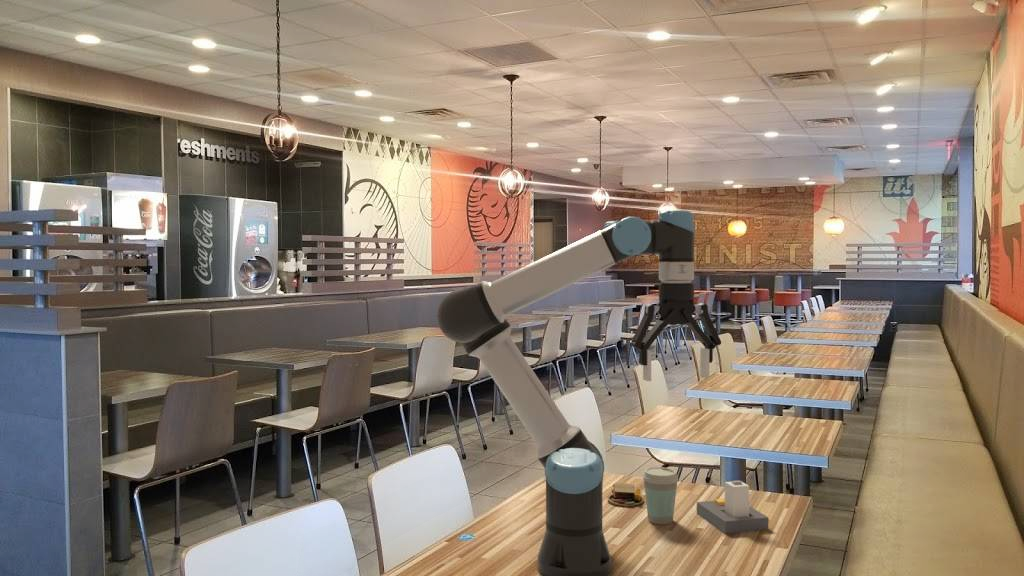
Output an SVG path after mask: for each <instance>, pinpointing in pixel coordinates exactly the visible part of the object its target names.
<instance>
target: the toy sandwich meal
mask: <svg viewBox="0 0 1024 576" xmlns="http://www.w3.org/2000/svg"><path fill="white" fill-rule="evenodd" d="M612 487H613V488H612V489H611V493H612V494H610V495H608V496H607V501H608V502H609V504H612V505H614V506H618V507H635V506H639V505H641V504H643V502H644V500H645V499H644V497H643V496H642V495H641V494H642V493H641V490H640V488H637V489H636V490H635V485H634V484H633V483H626V482H625V483H624V482H623V483H622V482H615V483H613V485H612Z"/></svg>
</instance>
